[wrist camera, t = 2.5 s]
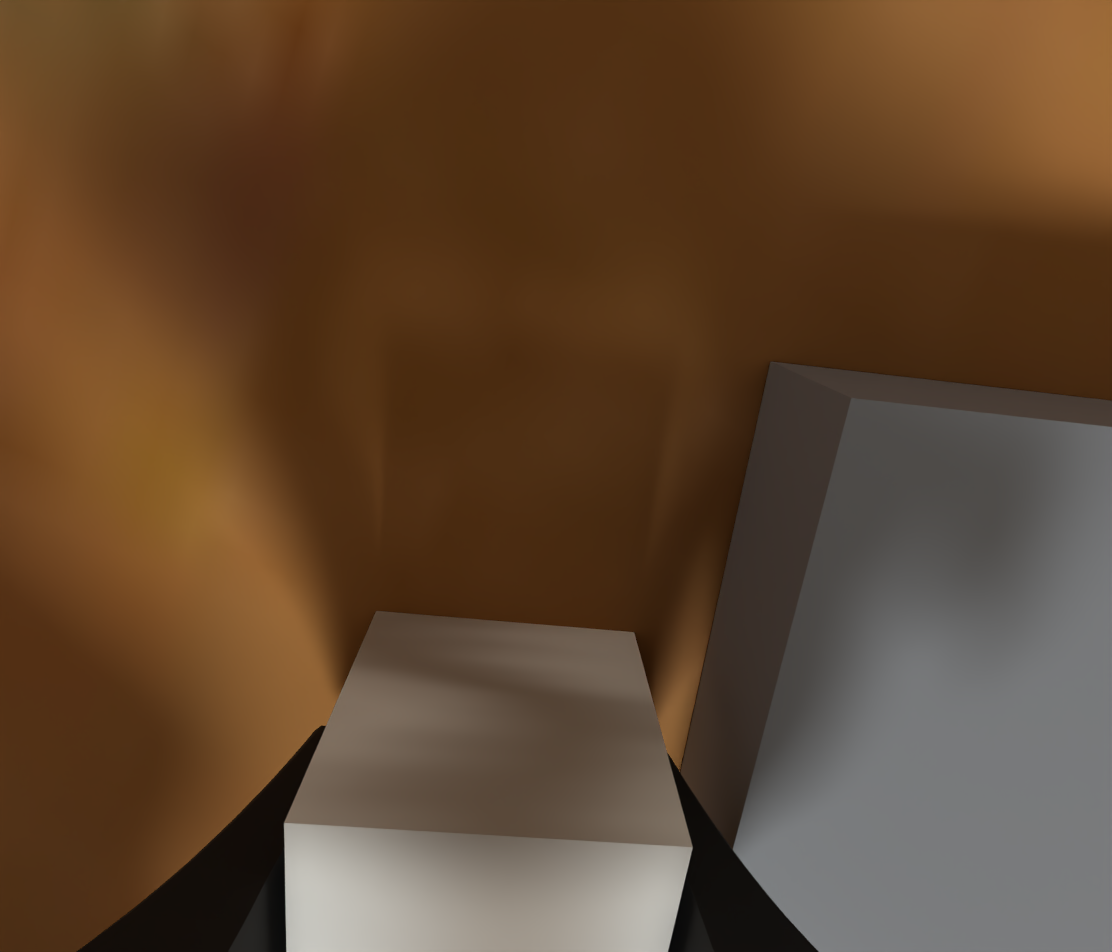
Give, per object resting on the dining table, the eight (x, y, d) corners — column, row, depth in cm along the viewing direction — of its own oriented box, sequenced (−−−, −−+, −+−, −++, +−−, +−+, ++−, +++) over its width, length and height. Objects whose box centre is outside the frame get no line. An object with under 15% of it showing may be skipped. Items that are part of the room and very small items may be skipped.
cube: (369, 812, 14) (288, 1093, 9) (377, 609, 13) (283, 822, 8) (598, 827, 15) (631, 1104, 10) (633, 630, 13) (692, 847, 8)
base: (655, 885, 15) (684, 1033, 12) (770, 361, 11) (851, 398, 8) (1144, 912, 16) (1278, 1057, 13) (1403, 434, 12) (1671, 489, 9)
